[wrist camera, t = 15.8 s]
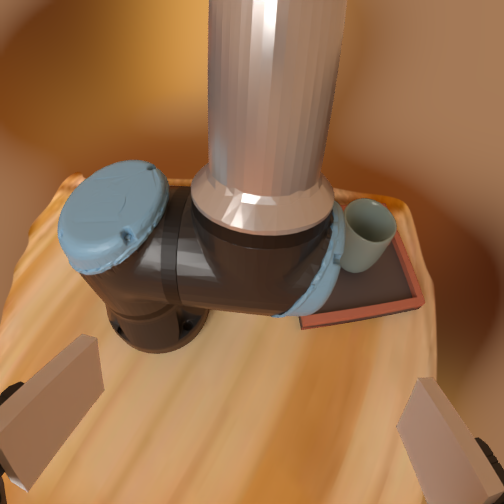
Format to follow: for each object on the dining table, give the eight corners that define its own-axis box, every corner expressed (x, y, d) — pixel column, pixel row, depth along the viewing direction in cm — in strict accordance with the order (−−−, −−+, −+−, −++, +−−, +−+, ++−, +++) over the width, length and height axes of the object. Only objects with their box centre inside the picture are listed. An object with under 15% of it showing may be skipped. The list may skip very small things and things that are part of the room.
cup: (317, 252, 49) (332, 211, 40) (350, 231, 51) (368, 190, 43) (350, 289, 45) (373, 253, 37) (382, 264, 48) (407, 227, 39)
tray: (277, 217, 54) (279, 208, 52) (380, 211, 56) (385, 203, 54) (301, 329, 43) (304, 324, 41) (418, 308, 45) (425, 302, 43)
